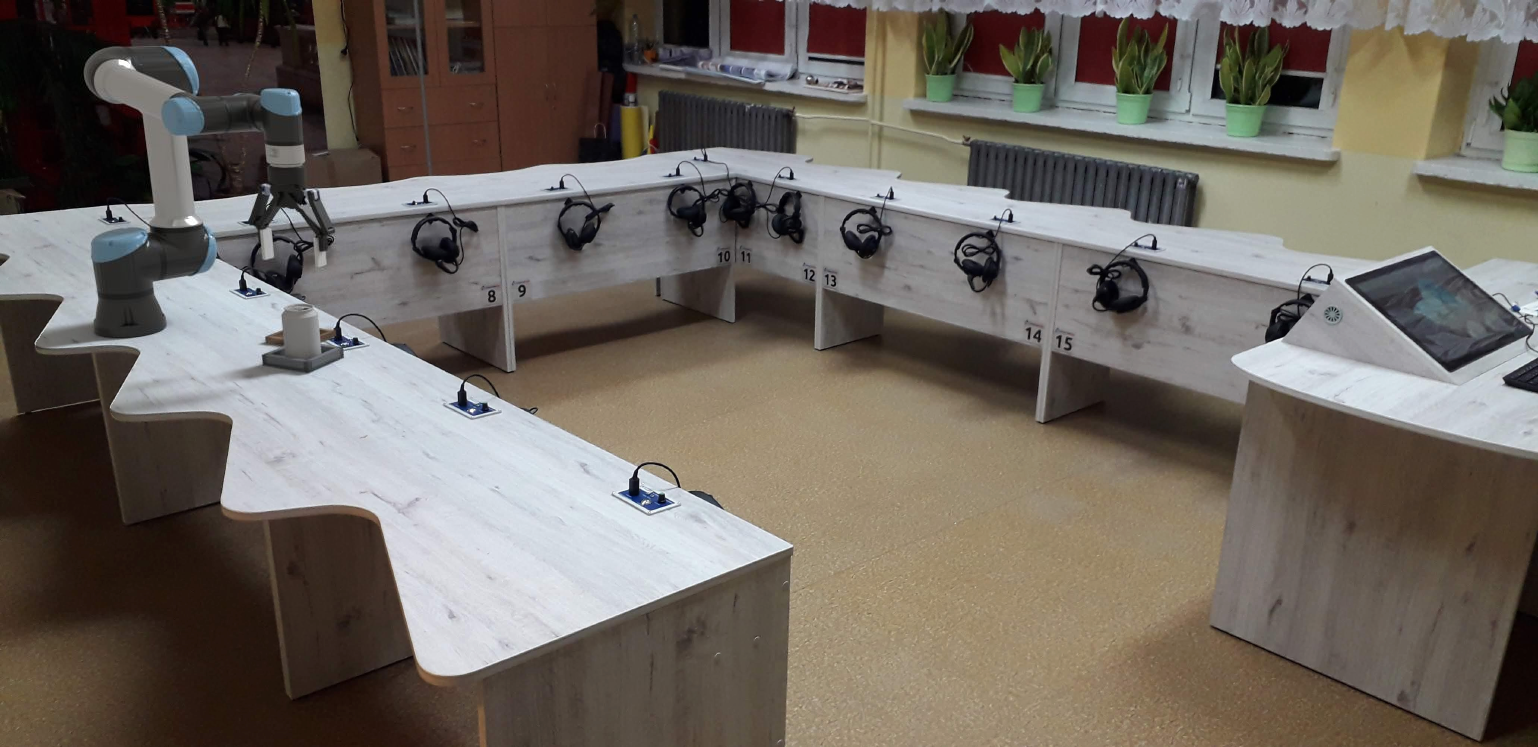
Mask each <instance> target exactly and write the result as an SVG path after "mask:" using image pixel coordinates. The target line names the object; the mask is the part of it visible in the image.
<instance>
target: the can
mask: <svg viewBox="0 0 1538 747" xmlns="http://www.w3.org/2000/svg"><path fill="white" fill-rule="evenodd" d="M283 310H284V311H283V312H282V313H281V315H280V316H281V326H282V330H283V338H284V348H285V356H286V357H292V358H298V359H305V360H308V359H310V358H313V357H315V356H317V355H320V354H321V344H322V342H321V343H320V331H319V328H320V320H319V312H318V311H317V310H316V309H315V306H314V305H313V304H309V303H293V304H289V305H286V306H284V307H283Z"/></svg>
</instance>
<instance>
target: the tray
mask: <svg viewBox="0 0 1538 747" xmlns="http://www.w3.org/2000/svg"><path fill="white" fill-rule="evenodd" d="M344 358H345V353H344V346H338V345H333V344H326V343H325V344H324V343H321V354H320V355H317V356H315V357H313V358H310V359H308V360H305V359H298V358H292V357H286V356H285V348H284V346H283V345H282V346H281V347H278V348H274V349H273V350H270V351H268V352H265V353H263V354H261V359H262V366H263V367H271V368H275V369H276V368H277V369H283V370H289V371H293V372H294V371H295V372H301V373H307V374H311V373H313V372H315V371H317V370H319V369H321V368H324V367H326V366H329V365H331V364H333V363H335V362H337V361H340V360H341V359H344Z"/></svg>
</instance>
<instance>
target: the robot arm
mask: <svg viewBox="0 0 1538 747" xmlns="http://www.w3.org/2000/svg"><path fill="white" fill-rule="evenodd" d="M83 76H84V77H83V78H84V81H85V83H86V86H87V87H88V89H89V91H91V92H92V93H93V94H94V95H95V96H96V97H98V98H99V99H101V100H104V101H106V102H108V103H111V104H117V105H119V104H120V105H122V104H124V105H126V106H129V107H131V108H133V109H136V110H138V111H139V112H140V113H141V114H142V119H143V121H142V122H143V128H144V135H145V143H146V150H147V159H148V167H149V175H150V176H149V177H150V184H151V190H152V191H151V192H152V200H153V207H154V217H153V218H151V220H150V221H149V223H148V224H149V232H147V231H146V230H145V229H144V228H141V227H134V226H133V227H132V226H131V227H126V228H125V227H124V228H123V227H121V228H114V229H110V230H107V231H104V232H102V233H99V234H98V235H95V236H94V237H93V238H92V240H91V242H90V250H91V251H90V254H91V256H90V258H91V261H92V267H93V274H94V279H95V286H96V292H97V293H96V294H97V299H98V300H97V304H96V311H95V318H94V319H93V322H92V325H93V330H94V334H96V335H98V336H102V337H105V338H106V337H107V338H132V337H134V338H135V337H140V336H146V335H151V334H155V333H159V332H161V331H163V330H164V329H166V327H167V318H166V315H165V313H164V312H163V310H162V307H161V306H160V303H159V301H158V299H157V297H156V294H155V289H154V283H155V282H159V281H166V280H172V279H176V278H177V279H178V278H183V277H193V276H196V275H201V274H203V273H206V272H208V271H209V270H210V269H211V268H212V267H213V266H214V264H215V262H216V260H217V253H218V251H217V250H218V249H217V248H218V247H217V240H216V237H214V233H213V231H212V229H210V227H209V226H206V225H204V220H203V219H202V218H200V217H199V216H198V215H197V214H196V208H195V200H194V191H193V182H192V173H191V165H190V155H189V146H188V137H193V136H200V135H202V136H203V135H212V134H228V133H244V132H245V133H246V132H260V133H263V135H264V136H263V137H264V138H263V139H264V146H265V158H266V163H267V164H268V166H266V168H267V169H266V171H267V181H268V182H269V183H270V184H269V183H262V184H257V195H256V198H255V201H254V204H253V207H252V210H251V213H250V216H249V219H248V221H247V224H248V225H249V226H253V227H255V229H256V230H257V237H258V239H257V240H258V243H259V244H261V245H260V246H261V255H262V256H261V257H262V260H264V261H266V260H270V259H273V258H275V253H274V243H273V233H272V227H271V226H270V224H271V223H272V221H273V219H274V218H275V217H276V215H277V214H278V213H279V211H280V209H289V210H295V211H296V212H297V213H299V214H300V215H301V217H302V218H303V220H304V221H305V222H306V224H307V225H308V226H309V227H310V229H311V231H313V233H314V234H315V236H313V237H312V238H313V251H314V252H313V253H314V265H315V268H321V267H323V266H327V252H328V249H329V246H328V245H329V244H328V236H330V235H333V234H335V233H336V229H335V226H334V225H333V222H332V221H331V219H330V217H329V214H328V212H327V210H326V208H325V206H324V204H323V202H322V200H321V195H320V194H321V193H320V190H319V189H318V188H315V189H311V190H308V189H306V183H307V170H306V169H307V168H306V167H307V166H305V165H304V163H305V162H306V156H305V147H304V146H305V145H304V132H303V117H302V112H303V109H302V106H301V100H300V94H299V93H298V92H297V90H295V89H292V88H291V89H290V88H264V89H262V90H261V92H260V94H259V95H258V94H254V93H250V92H247V93H244V92H243V93H242V92H241V93H239V92H238V93H235V94H233V95H221V96H220V95H218V96H216V95H215V96H199V95H198V96H197V94H198V92H199V88H200V82H199V81H200V80H199V75H198V71H197V69H196V66H195V64H194V62H193V61H192V59H191V58H190V57H189V55H188V54H187V53H186V52H185V51H183V50H182V49H180V48H178V47H174V46H164V45H163V46H162V45H150V46H149V45H147V46H146V45H145V46H143V45H142V46H109V47H105V48H102V49H99V50H97V51H95V53H93V54H91V56H90V57H89V58H88V60H86V62H85V65H84V69H83ZM270 196H272V199H271V200H270V202H269V203H268V201H269V199H270ZM267 205H268V207H267Z"/></svg>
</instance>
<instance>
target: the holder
mask: <svg viewBox="0 0 1538 747" xmlns="http://www.w3.org/2000/svg"><path fill="white" fill-rule="evenodd" d="M319 331H320V343H321V344H322V343H324V342H326V341H328V340H331V339H333V338H335V336H336V337H337V334H336V333H337V331H336V329H329V328H322V327H319ZM264 340H265V343H266V344H272V345H277V346H282V347H283V346H284V338H283V329H282V330H279V331H276V332H274V333H271V334H268V335H265V337H264Z"/></svg>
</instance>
